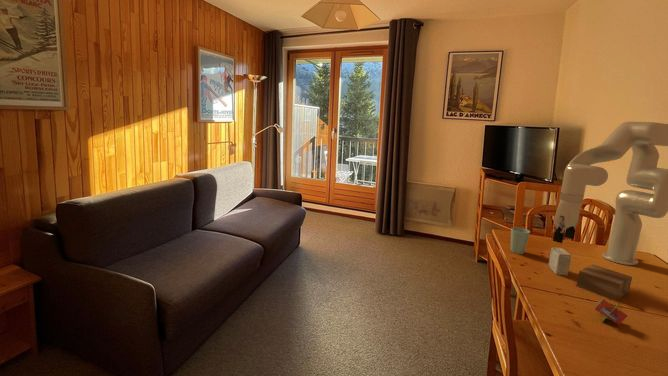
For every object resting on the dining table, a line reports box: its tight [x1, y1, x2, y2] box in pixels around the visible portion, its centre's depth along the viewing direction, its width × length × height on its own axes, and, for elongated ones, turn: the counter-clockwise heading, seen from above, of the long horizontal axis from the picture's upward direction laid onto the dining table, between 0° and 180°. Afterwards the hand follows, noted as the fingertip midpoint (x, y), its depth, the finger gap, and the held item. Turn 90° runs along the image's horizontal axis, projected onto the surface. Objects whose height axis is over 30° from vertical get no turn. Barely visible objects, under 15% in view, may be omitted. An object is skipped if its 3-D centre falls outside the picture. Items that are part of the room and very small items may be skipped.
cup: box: [510, 227, 531, 255], centre depth 160 cm, size 8×8×10 cm
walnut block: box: [576, 264, 633, 302], centre depth 126 cm, size 12×12×6 cm
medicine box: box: [547, 247, 572, 277], centre depth 140 cm, size 8×4×9 cm, turn 168°
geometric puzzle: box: [594, 298, 628, 326], centre depth 105 cm, size 7×7×8 cm
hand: (563, 240), depth 138 cm, fingers open, 9 cm apart
